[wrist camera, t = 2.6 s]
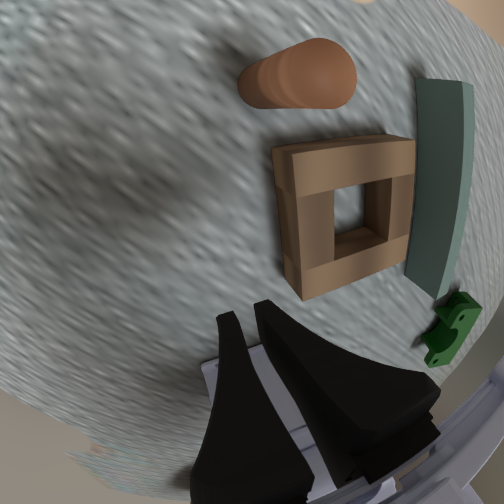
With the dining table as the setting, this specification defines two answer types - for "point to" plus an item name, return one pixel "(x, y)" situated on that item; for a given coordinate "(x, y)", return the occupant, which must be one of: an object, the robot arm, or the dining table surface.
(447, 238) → the wall
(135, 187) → the dining table surface
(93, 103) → the dining table surface
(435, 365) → the clamp
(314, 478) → the robot arm
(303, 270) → the square frame
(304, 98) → the dowel
